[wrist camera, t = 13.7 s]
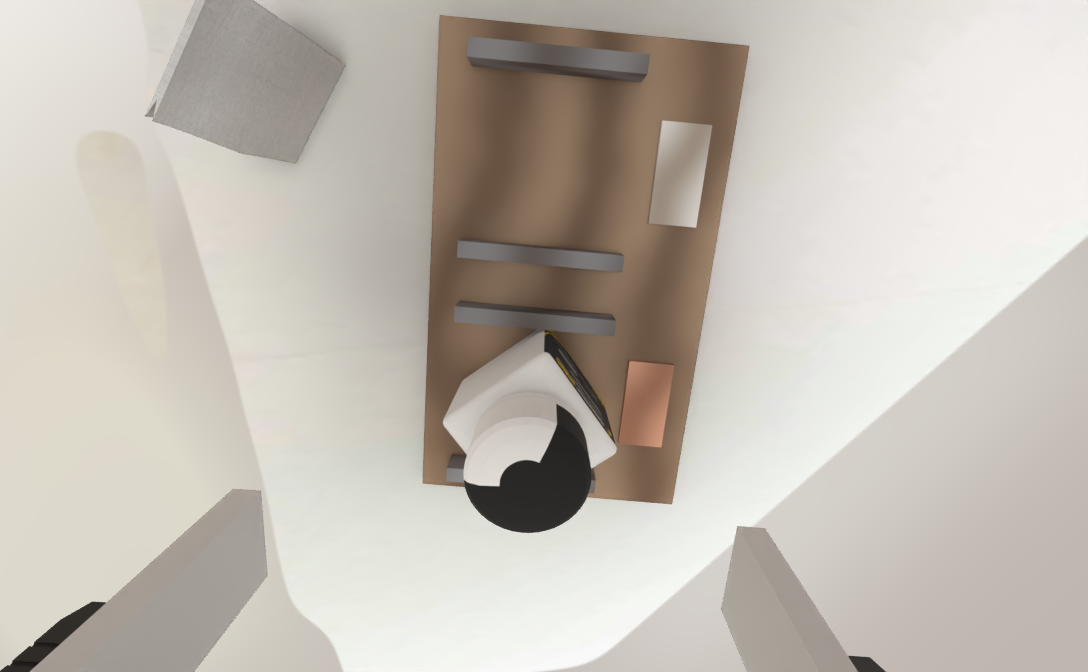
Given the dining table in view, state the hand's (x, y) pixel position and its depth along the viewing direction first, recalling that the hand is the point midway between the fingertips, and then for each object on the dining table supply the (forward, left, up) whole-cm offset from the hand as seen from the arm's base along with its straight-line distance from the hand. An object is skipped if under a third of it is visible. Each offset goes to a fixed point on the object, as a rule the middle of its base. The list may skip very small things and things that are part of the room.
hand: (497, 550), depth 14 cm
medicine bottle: (-1, +3, -21) cm, 21 cm away
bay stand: (-2, -4, -22) cm, 22 cm away
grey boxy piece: (+16, -14, -22) cm, 31 cm away
